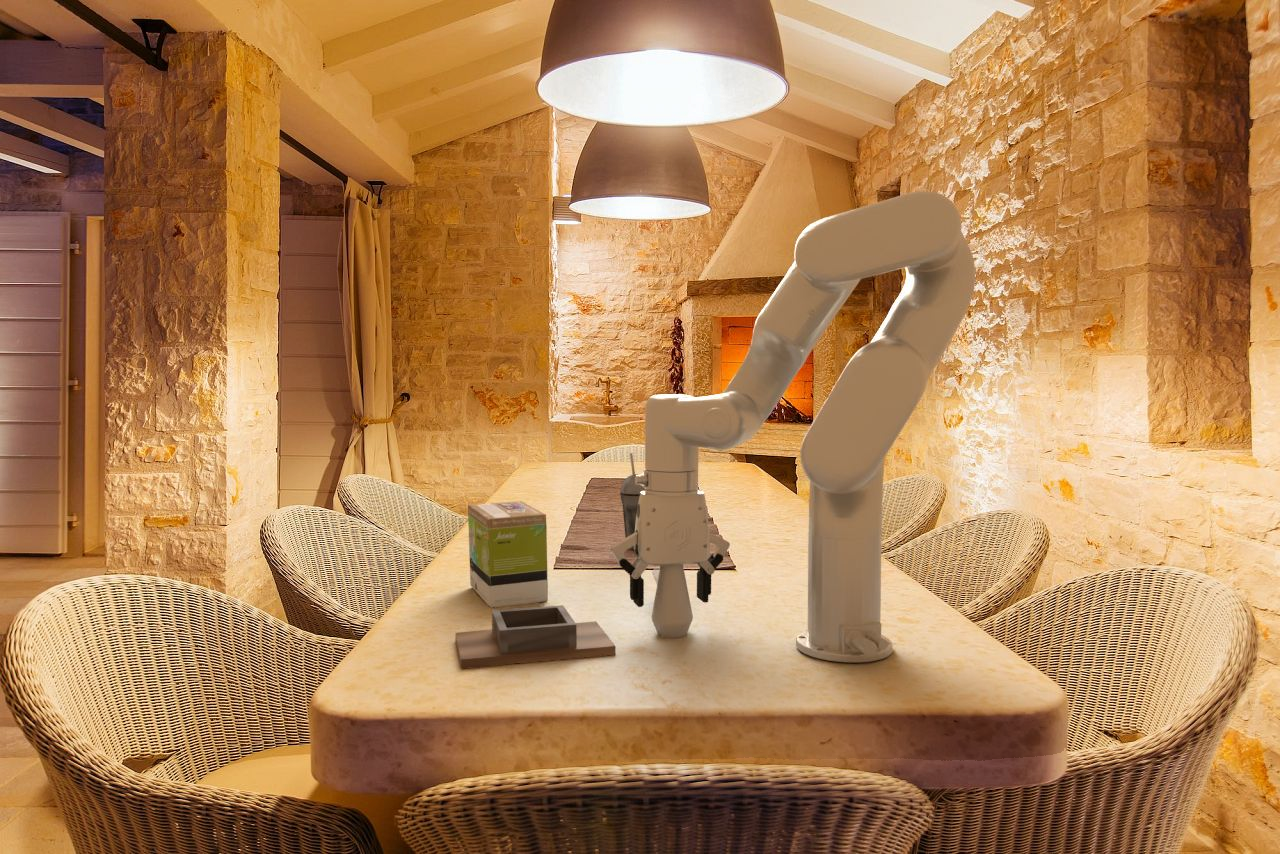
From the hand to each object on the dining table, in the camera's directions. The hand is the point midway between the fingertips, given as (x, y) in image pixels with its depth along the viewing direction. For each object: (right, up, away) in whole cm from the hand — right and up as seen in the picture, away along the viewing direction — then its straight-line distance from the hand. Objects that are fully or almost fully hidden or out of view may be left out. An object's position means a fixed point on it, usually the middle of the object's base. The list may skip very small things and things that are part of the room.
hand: (670, 602), depth 128 cm
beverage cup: (-5, -1, +62) cm, 62 cm away
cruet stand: (-19, -5, -6) cm, 20 cm away
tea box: (-27, -3, +23) cm, 35 cm away
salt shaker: (0, -5, 0) cm, 5 cm away
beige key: (0, -4, +16) cm, 17 cm away
